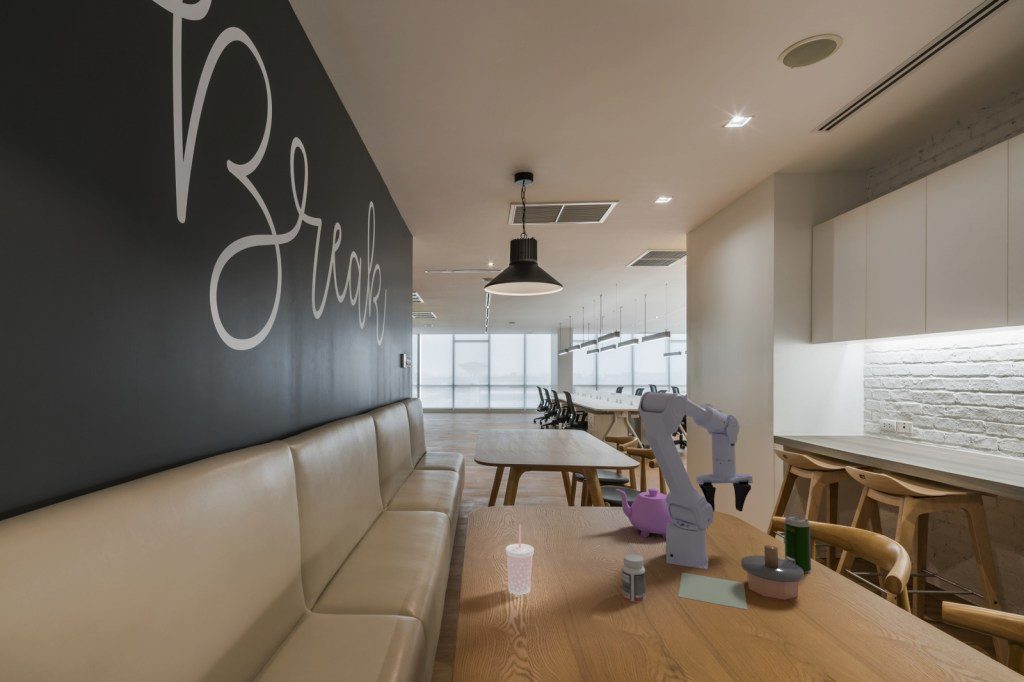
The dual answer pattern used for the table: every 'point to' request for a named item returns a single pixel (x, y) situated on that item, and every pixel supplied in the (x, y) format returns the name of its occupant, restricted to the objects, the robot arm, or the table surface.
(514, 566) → the beverage cup
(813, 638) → the table surface
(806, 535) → the beer can
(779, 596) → the bowl
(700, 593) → the mat
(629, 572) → the pill bottle
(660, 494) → the teapot
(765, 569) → the lid
